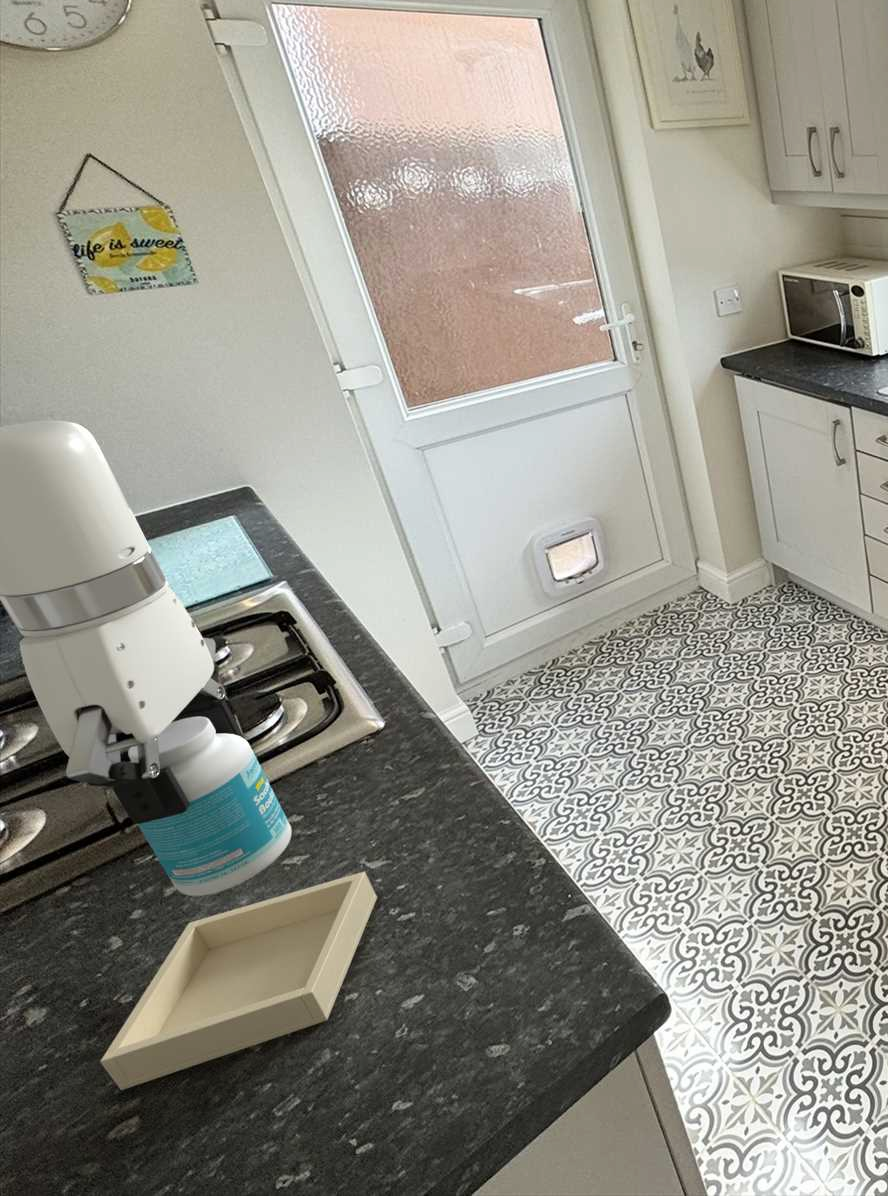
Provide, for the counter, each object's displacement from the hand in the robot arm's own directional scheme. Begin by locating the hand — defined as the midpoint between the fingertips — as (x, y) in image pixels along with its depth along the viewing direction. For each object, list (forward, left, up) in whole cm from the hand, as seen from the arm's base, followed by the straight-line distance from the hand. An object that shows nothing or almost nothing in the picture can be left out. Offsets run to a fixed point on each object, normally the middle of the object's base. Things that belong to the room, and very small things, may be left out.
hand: (192, 777), depth 63 cm
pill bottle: (0, 0, -9) cm, 9 cm away
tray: (-2, -1, -22) cm, 22 cm away
